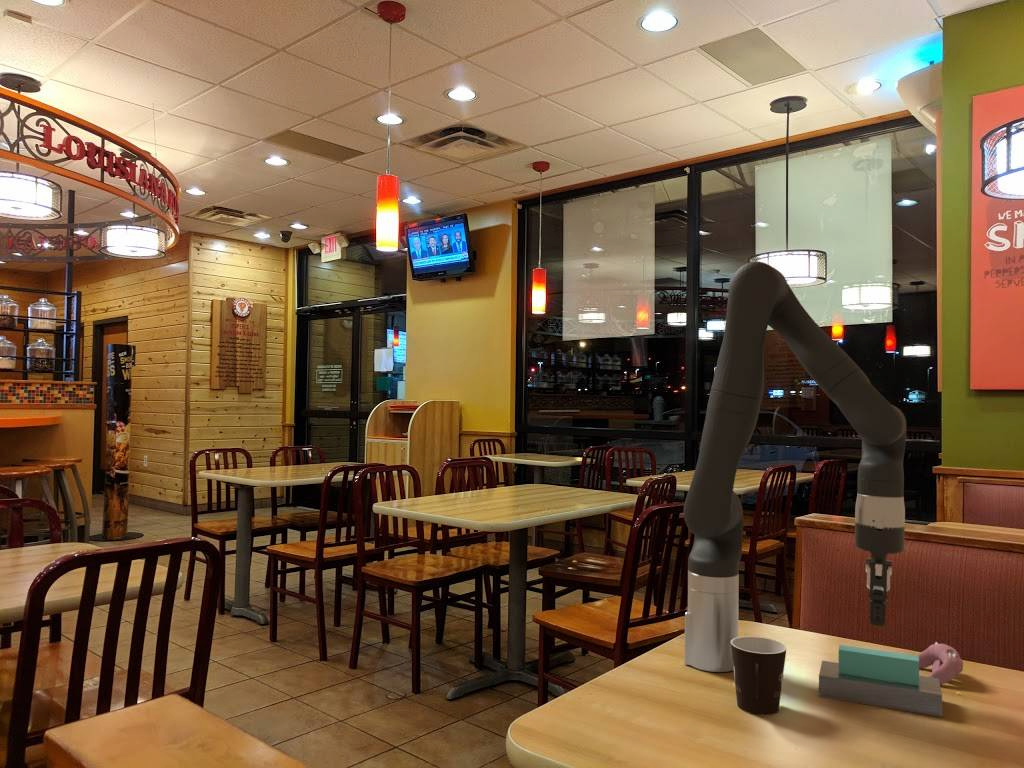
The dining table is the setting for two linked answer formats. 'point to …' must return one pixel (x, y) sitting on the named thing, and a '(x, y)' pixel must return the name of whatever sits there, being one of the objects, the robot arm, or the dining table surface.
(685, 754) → the dining table surface
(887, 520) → the robot arm
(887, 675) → the two prong clip
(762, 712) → the coffee mug
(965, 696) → the dining table surface
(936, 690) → the slotted rail
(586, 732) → the dining table surface
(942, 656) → the video game controller
